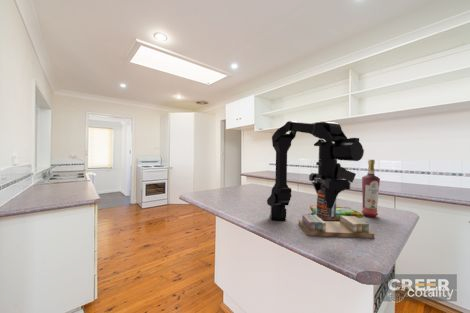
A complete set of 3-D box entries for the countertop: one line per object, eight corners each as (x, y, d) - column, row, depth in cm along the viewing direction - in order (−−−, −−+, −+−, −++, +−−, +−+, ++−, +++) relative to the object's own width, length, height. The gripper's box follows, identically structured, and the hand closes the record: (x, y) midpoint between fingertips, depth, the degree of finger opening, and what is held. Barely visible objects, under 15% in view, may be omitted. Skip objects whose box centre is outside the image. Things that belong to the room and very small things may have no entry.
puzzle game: (309, 204, 102) (350, 205, 100) (309, 213, 102) (350, 214, 100) (317, 210, 90) (363, 212, 88) (317, 221, 90) (363, 223, 88)
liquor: (365, 217, 95) (367, 159, 94) (357, 213, 102) (359, 159, 102) (381, 218, 94) (384, 160, 94) (372, 213, 102) (374, 159, 101)
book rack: (307, 235, 73) (307, 223, 73) (298, 223, 85) (298, 213, 85) (374, 238, 72) (374, 225, 72) (355, 225, 84) (355, 215, 84)
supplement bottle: (313, 217, 67) (314, 183, 67) (320, 213, 71) (321, 182, 71) (331, 221, 63) (333, 186, 62) (338, 217, 67) (339, 184, 67)
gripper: (370, 161, 57) (368, 215, 57) (338, 159, 75) (337, 199, 76) (330, 160, 57) (328, 214, 58) (309, 158, 76) (308, 198, 76)
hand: (326, 205), depth 67 cm, fingers closed on supplement bottle, 6 cm apart
